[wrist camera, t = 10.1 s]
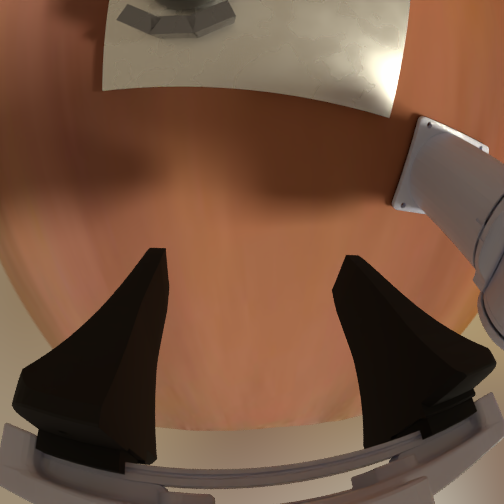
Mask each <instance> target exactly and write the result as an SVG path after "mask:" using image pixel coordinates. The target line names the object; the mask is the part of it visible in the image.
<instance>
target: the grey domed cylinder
mask: <svg viewBox="0 0 504 504" xmlns="http://www.w3.org/2000/svg"><path fill="white" fill-rule="evenodd" d="M155 1H156V2H157V3H159V4H160V5H162V6H164V7H167V8H171V9H179V10H183V9H192V8H196V7H199V6H202V5H204V4H206V3H208V2H210V1H211V0H155Z"/></svg>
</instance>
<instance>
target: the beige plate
mask: <svg viewBox="0 0 504 504" xmlns="http://www.w3.org/2000/svg"><path fill="white" fill-rule="evenodd" d="M409 7H410V0H211V1H210V2H208V3H206V4H204V5H202V6H199V7H196V8H192V9H183V10H179V9H171V8H167V7H164V6H162V5H160V4H159V3H157V2H156V1H155V0H109V6H108V13H107V21H106V30H105V41H104V55H103V78H102V91H107V90H116V89H128V88H143V87H176V86H184V87H217V88H233V89H245V90H255V91H264V92H272V93H279V94H286V95H292V96H298V97H304V98H310V99H315V100H320V101H325V102H330V103H334V104H339V105H343V106H347V107H351V108H355V109H359V110H363V111H366V112H370V113H374V114H377V115H380V116H384V117H387V118H390V114H391V110H392V106H393V101H394V97H395V92H396V88H397V83H398V78H399V73H400V68H401V62H402V57H403V51H404V45H405V38H406V32H407V24H408V16H409Z"/></svg>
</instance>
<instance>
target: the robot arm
mask: <svg viewBox="0 0 504 504" xmlns="http://www.w3.org/2000/svg"><path fill="white" fill-rule="evenodd" d="M428 122H429V126H428V127H427V124H428ZM488 153H489V148H488V147H487V146H486V145H484V144H482V143H480V142H478V141H477V140H475V139H473V138H471V137H469V136H467V135H465V134H463V133H461V132H459V131H457V130H455V129H452V128H450V127H448V126H446V125H444V124H441V123H439V122H437V121H434V120H432V119H430V118H427V117H425V116H420V117H419V118H418V121H417V125H416V128H415V132H414V136H413V139H412V143H411V146H410V149H409V153H408V156H407V159H406V162H405V166H404V169H403V172H402V175H401V178H400V181H399V184H398V187H397V189H396V192H395V195H394V198H393V201H392V206H393V208H394V209H396V210H402V211H408V212H415V213H421V214H427V215H428V216H429V217H430V218H431V220H432V221H433V222H434V223H435V224H436V225H437V226H438V227H439V228H440V229H441V230H442V231H443V232H444V233H445V234H446V235H447V237H448V238H449V239H450V240H451V241H452V242H453V243H454V244H455V246H456V247H457V248H458V249H459V250H460V251H461V253H462V254H463V255H464V256H465V257H466V258H467V260H468V261H469V262H470V263H471V265H472V266H473V267H474V268H475V269H476V272H475V276H474V278H473V281H474V283H475V284H476V285H477V287H478V288H479V289H480V291H481V292H480V294H479V297H478V304H477V307H478V313H479V317H480V320H481V322H482V325H483V327H484V329H485V330H486V332H487V334H488V335H489V337H490V338H491V339H492V340H493V342H495V344H496V345H498V346H499V347H500V348H501V349H503V350H504V164H503V163H502V162H500V161H499V160H497V159H496V158H494V157H492V156H491V155H489V154H488ZM402 203H403V205H402V206H401V204H402ZM332 293H333V298H334V303H335V307H336V311H337V314H338V317H339V320H340V322H341V325H342V328H343V331H344V333H345V336H346V339H347V342H348V345H349V347H350V350H351V353H352V356H353V360H354V363H355V368H356V373H357V378H358V383H359V389H360V396H361V404H362V414H363V434H364V435H363V436H364V437H363V438H364V439H363V441H364V442H363V446H364V449H363V450H359V451H355V452H352V453H348V454H343V455H339V456H334V457H330V458H325V459H320V460H315V461H309V462H303V463H297V464H289V465H281V466H272V467H261V468H249V469H220V470H218V469H215V470H213V469H211V470H210V469H209V470H207V469H182V468H168V467H157V466H148V465H150V464H152V463H153V462H154V461H155V460H156V459H157V455H156V437H155V389H156V370H157V361H158V355H159V349H160V344H161V339H162V334H163V329H164V324H165V319H166V314H167V306H168V296H169V280H168V270H167V259H166V248H149V249H148V250H147V252H146V253H145V254H144V256H143V257H142V258H141V260H140V261H139V263H138V264H137V265H136V266H135V268H134V269H133V270H132V272H131V273H130V274H129V275H128V277H127V278H126V279H125V280H124V282H123V283H122V284H121V285H120V287H119V288H118V289H117V290H116V291H115V292H114V294H113V295H112V296H111V297H110V298H109V299H108V300H107V302H106V303H105V304H104V305H103V306H102V307H101V308H100V309H99V310H98V311H97V312H96V313H95V314H94V315H93V316H92V317H91V318H90V319H89V320H88V321H87V322H86V323H85V324H84V325H82V326H81V327H80V328H79V329H78V330H77V331H76V332H75V333H73V334H72V335H71V336H70V337H69V338H67V339H66V340H65V341H63V342H62V343H61V344H60V345H58V346H57V347H56V348H54V349H53V350H52V351H50V352H49V353H47V354H46V355H44V356H43V357H41V358H40V359H38V360H36V361H35V362H33V363H32V364H30V365H28V366H27V367H25V368H24V369H22V372H21V375H20V378H19V380H18V384H17V387H16V391H15V395H14V398H13V402H12V406H13V408H14V410H15V411H16V412H17V413H18V414H19V415H20V416H22V417H23V418H24V419H26V420H27V421H29V422H30V423H31V424H33V425H34V426H35V427H37V428H38V429H39V430H38V436H36V435H34V434H32V433H30V432H28V431H25V430H23V429H20V428H18V427H16V426H13V425H11V424H9V423H5V425H4V431H3V436H2V441H1V447H0V486H2V487H3V488H5V489H7V490H9V491H10V492H12V493H14V494H16V495H18V496H20V497H22V498H24V499H25V500H27V501H29V502H31V503H34V504H215V498H214V497H213V496H212V495H210V494H191V493H180V492H169V491H168V490H167V489H166V488H165V487H175V488H176V487H177V488H192V489H193V488H194V489H236V488H253V487H265V486H273V485H282V484H290V483H295V482H302V481H308V480H313V479H318V478H323V477H328V476H332V475H336V474H340V473H344V472H348V471H352V470H355V469H359V468H362V467H366V466H369V465H372V464H375V463H378V462H381V461H384V460H387V459H390V458H391V460H390V461H389V463H388V464H386V465H383V466H380V467H378V468H375V469H373V470H371V471H368V472H366V473H363V474H360V475H357V476H354V477H352V478H351V481H352V485H353V488H352V489H350V490H346V491H342V492H339V493H334V494H331V495H326V496H322V497H317V498H312V499H307V500H301V501H296V502H289V503H282V504H435V502H434V498H433V495H435V494H436V493H438V492H439V491H440V490H442V489H443V488H445V487H446V486H447V485H449V484H450V483H451V482H453V481H454V480H455V479H456V478H458V477H459V476H460V475H462V473H464V472H465V471H466V470H468V469H469V468H470V467H471V466H472V465H473V464H475V463H476V462H477V461H478V460H479V459H480V458H481V457H482V456H483V455H485V454H486V453H487V452H488V451H489V450H490V449H491V448H493V447H494V446H495V445H496V444H497V443H498V442H500V441H501V440H502V439H503V438H504V419H503V417H502V414H501V412H500V409H499V407H498V405H497V402H496V400H495V398H494V395H493V393H492V392H490V393H489V394H487V395H485V396H483V397H482V398H480V399H478V400H477V401H475V402H473V399H472V397H474V396H475V391H474V389H473V388H474V387H475V386H476V385H478V384H479V383H480V382H481V381H482V380H483V379H485V378H486V377H487V376H488V375H489V374H490V373H491V372H492V371H493V369H494V368H495V367H496V361H495V359H494V357H493V355H492V353H491V351H490V350H489V349H488V348H486V347H484V346H482V345H480V344H477V343H475V342H473V341H471V340H469V339H467V338H465V337H463V336H461V335H459V334H457V333H456V332H454V331H452V330H450V329H449V328H447V327H446V326H444V325H443V324H441V323H439V322H438V321H436V320H435V319H434V318H432V317H431V316H429V315H428V314H427V313H425V312H424V311H423V310H421V309H420V308H419V307H417V306H416V305H415V304H414V303H412V302H411V301H410V300H409V299H408V298H407V297H405V296H404V295H403V294H402V293H401V292H400V291H398V290H397V289H396V288H395V287H394V286H393V285H392V284H391V283H390V282H388V281H387V280H386V279H385V278H384V277H383V276H382V275H381V274H380V273H379V272H378V271H376V270H375V269H374V268H373V267H372V266H371V265H370V264H369V263H367V262H366V261H365V260H364V259H363V258H361V257H360V256H358V255H346V257H345V259H344V262H343V264H342V267H341V269H340V272H339V274H338V277H337V279H336V282H335V284H334V287H333V289H332ZM141 464H145V465H141ZM146 464H147V465H146ZM163 486H164V487H163Z"/></svg>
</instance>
